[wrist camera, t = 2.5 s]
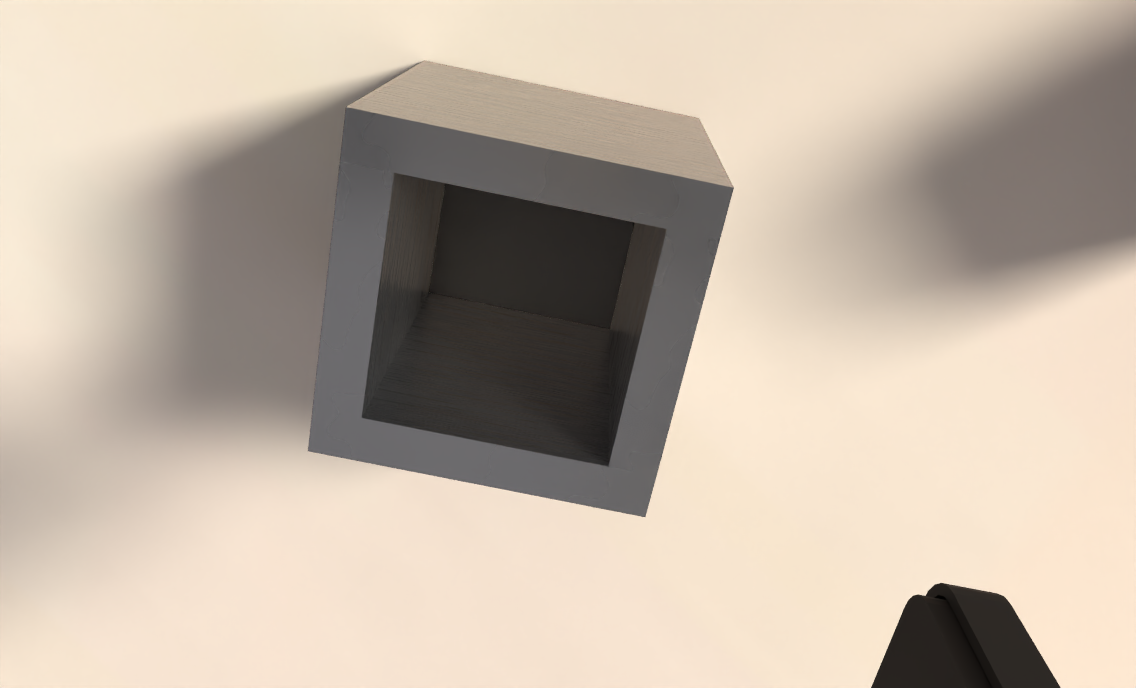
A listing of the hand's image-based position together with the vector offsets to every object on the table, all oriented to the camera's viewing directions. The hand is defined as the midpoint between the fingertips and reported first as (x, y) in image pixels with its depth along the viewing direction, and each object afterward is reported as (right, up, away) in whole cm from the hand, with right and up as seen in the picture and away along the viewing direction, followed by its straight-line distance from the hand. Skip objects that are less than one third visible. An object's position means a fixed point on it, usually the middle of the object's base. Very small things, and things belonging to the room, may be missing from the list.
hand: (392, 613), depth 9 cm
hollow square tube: (+1, +5, +15) cm, 16 cm away
